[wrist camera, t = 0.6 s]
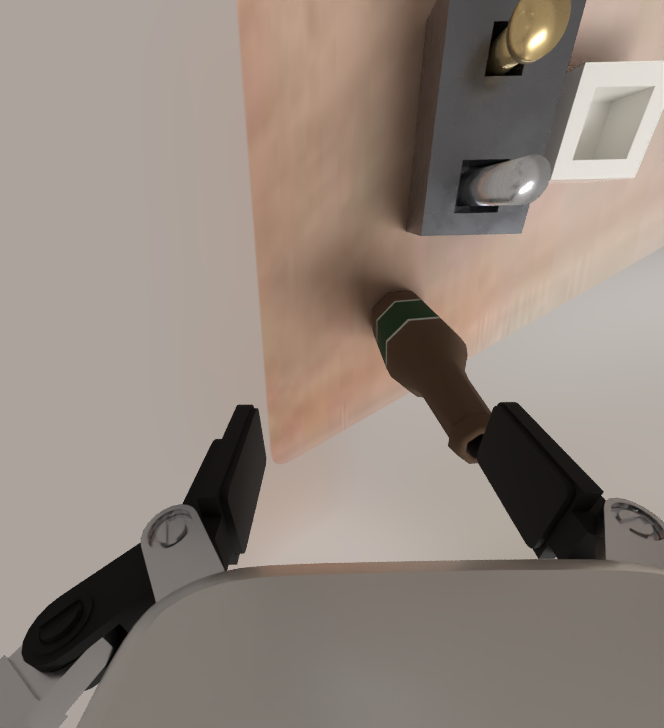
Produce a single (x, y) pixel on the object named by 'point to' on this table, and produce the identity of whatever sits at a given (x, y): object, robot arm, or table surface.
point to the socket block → (478, 114)
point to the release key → (528, 34)
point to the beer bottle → (431, 367)
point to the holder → (604, 120)
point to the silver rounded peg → (505, 183)
